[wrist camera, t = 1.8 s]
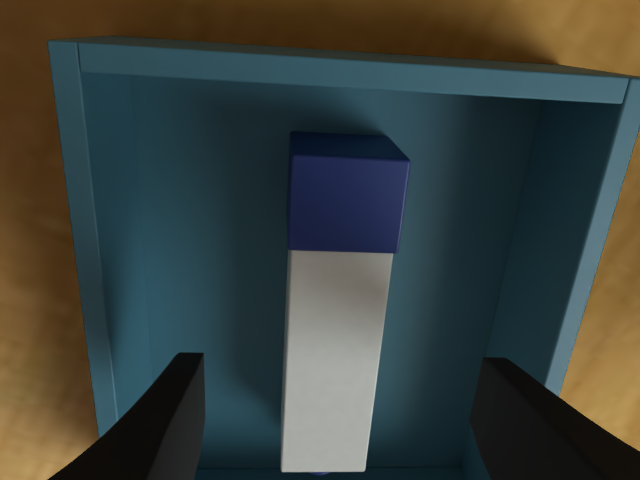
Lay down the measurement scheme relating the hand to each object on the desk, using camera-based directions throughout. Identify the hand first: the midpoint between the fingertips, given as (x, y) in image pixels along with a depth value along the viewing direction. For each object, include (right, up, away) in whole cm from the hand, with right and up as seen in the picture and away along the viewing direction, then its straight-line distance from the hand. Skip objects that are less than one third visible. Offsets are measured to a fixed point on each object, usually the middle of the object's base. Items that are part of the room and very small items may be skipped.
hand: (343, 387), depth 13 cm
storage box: (0, +2, +5) cm, 5 cm away
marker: (0, +2, +4) cm, 5 cm away
